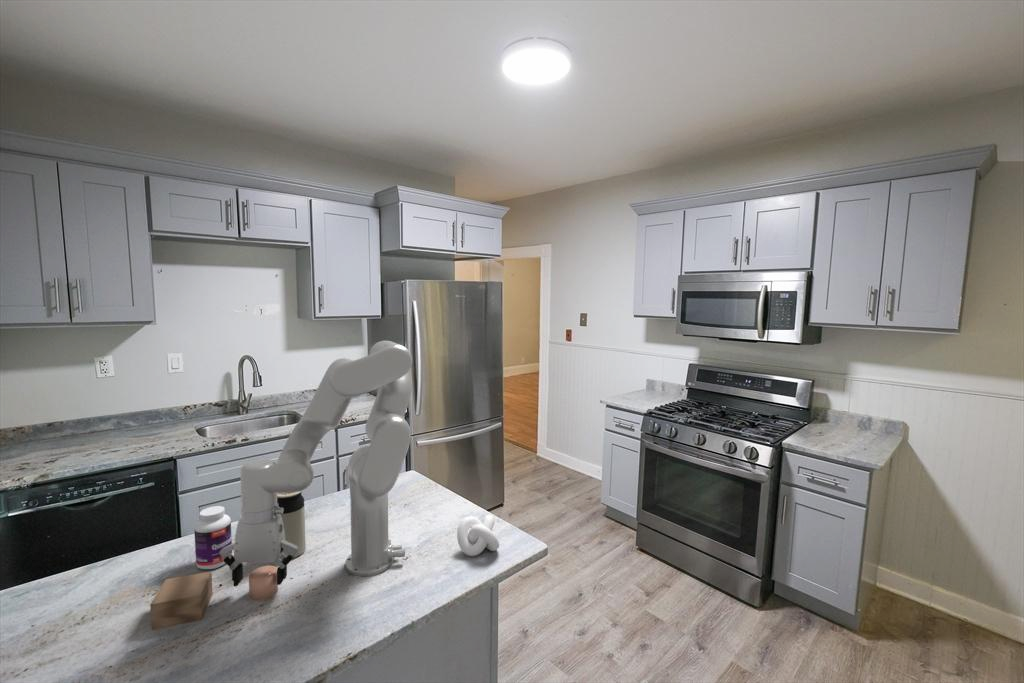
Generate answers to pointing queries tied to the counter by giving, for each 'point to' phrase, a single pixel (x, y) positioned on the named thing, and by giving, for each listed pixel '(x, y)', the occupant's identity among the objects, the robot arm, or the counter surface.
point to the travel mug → (293, 519)
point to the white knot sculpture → (477, 535)
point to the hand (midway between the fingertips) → (259, 582)
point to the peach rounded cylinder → (263, 583)
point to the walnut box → (181, 600)
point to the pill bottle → (212, 537)
